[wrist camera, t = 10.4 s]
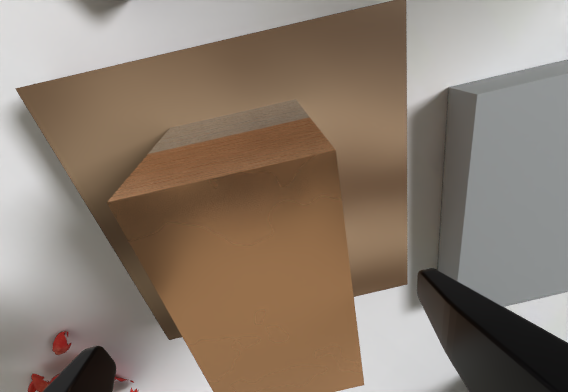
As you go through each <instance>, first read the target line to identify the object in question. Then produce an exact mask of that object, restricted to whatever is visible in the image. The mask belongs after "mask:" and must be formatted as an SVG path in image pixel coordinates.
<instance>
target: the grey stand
mask: <svg viewBox="0 0 568 392" xmlns="http://www.w3.org/2000/svg"><path fill="white" fill-rule="evenodd" d="M438 271H440V272H442V273H444V274H445V275H447V276H449V277H451V278H453V279H454V280H456V281H458V282H460V283H462V284H463V285H465V286H467V287H469V288H471V289H472V290H474V291H476V292H478V293H479V294H481V295H483V296H485V297H487V298H488V299H490V300H492V301H494V302H496V303H497V304H499V305H501V306H503V307H505V306H509V305H513V304H518V303H522V302H526V301H530V300H535V299H539V298H543V297H548V296H552V295H556V294H560V293H565V292H568V60H564V61H560V62H555V63H551V64H547V65H543V66H538V67H534V68H530V69H525V70H521V71H517V72H513V73H508V74H504V75H500V76H495V77H491V78H487V79H483V80H478V81H474V82H470V83H465V84H461V85H457V86H453V87H449V92H448V108H447V124H446V141H445V157H444V173H443V190H442V206H441V223H440V239H439V255H438Z"/></svg>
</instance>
